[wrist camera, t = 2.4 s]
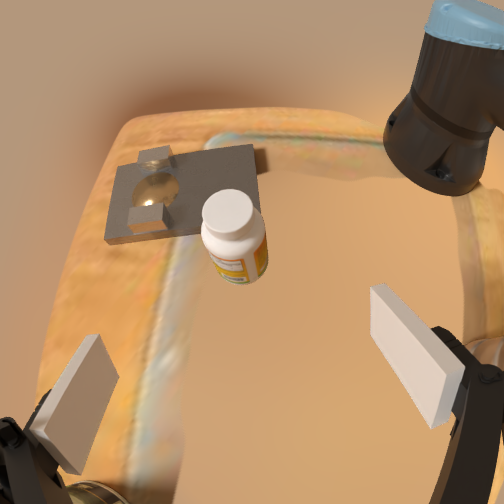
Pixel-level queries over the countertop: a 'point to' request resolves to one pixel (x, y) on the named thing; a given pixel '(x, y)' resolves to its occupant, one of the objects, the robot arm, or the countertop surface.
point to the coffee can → (93, 493)
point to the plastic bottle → (488, 351)
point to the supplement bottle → (235, 236)
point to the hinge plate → (175, 191)
